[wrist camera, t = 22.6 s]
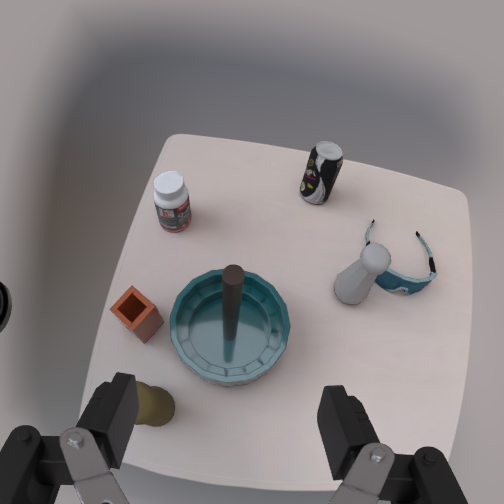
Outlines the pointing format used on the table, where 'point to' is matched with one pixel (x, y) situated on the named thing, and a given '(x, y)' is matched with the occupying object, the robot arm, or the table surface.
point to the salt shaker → (362, 274)
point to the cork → (154, 405)
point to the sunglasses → (396, 281)
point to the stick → (231, 299)
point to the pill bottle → (172, 201)
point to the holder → (137, 314)
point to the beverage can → (321, 172)
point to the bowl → (211, 330)
